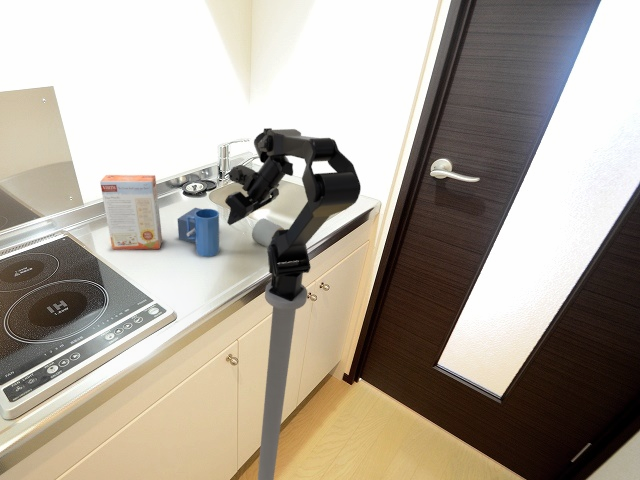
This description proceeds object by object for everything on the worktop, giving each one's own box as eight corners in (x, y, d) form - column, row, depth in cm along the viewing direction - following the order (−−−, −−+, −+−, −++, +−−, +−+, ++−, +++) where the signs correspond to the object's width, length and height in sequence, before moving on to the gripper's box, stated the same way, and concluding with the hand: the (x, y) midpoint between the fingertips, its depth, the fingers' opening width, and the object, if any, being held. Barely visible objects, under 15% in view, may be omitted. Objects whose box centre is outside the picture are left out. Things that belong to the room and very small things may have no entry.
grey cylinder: (271, 254, 107) (273, 230, 103) (250, 244, 112) (252, 221, 108) (292, 242, 114) (295, 220, 110) (272, 234, 118) (274, 212, 115)
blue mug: (223, 248, 109) (223, 211, 103) (211, 258, 104) (211, 220, 98) (194, 241, 113) (192, 204, 107) (181, 250, 108) (179, 212, 102)
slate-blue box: (195, 227, 122) (195, 207, 118) (216, 232, 119) (216, 212, 115) (169, 246, 110) (167, 225, 106) (191, 252, 107) (190, 230, 103)
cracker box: (162, 240, 113) (156, 174, 102) (159, 250, 108) (152, 181, 97) (117, 240, 112) (105, 173, 101) (111, 249, 107) (99, 180, 96)
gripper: (263, 147, 97) (235, 189, 107) (225, 160, 83) (196, 207, 93) (293, 176, 96) (262, 216, 106) (260, 194, 82) (227, 238, 92)
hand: (237, 218), depth 99 cm, fingers open, 9 cm apart
